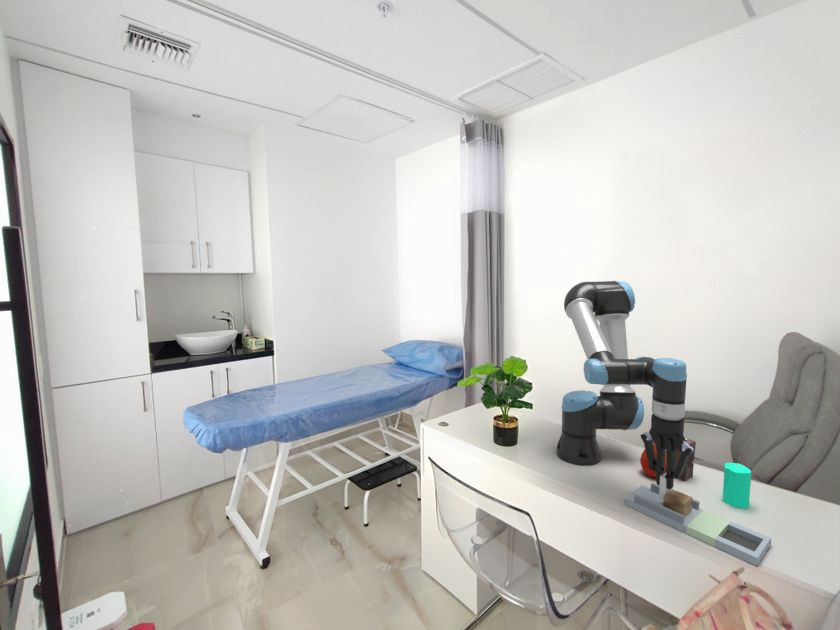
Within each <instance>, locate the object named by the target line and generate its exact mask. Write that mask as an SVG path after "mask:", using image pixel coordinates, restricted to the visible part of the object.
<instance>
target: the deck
mask: <svg viewBox="0 0 840 630" xmlns="http://www.w3.org/2000/svg"><path fill="white" fill-rule="evenodd" d="M659 489H660V485H657V483H654V482H652V483H650V487H648V486H645V485H643V484H641V485H640V486H638V487H636V488H635V489H634V490H633V491H631V492H630V493H628V494H627V495H625V496H624V497H623V503H622V504H623V505H624V506H627V507H629V508H630V509H633V510H635V511H638V512H639V513H641V514H644V515H646V516H647V517H650V518H652V519H655V520H657V521H658V522H661V523H663V524H664V525H667V526H669V527H672V528H674V529H675V530H678V531H680V532H682V533H684V534H687V535H689V536H691V537H693V538H695V539H698V540H700V541H702V542H704V543H706V544H709V545H711V546H712V547H714V548H717V549H719V550H720V551H723V552H726V553H728V554H729V555H732V556H733V557H734V556H735V557H736V558H738V559H741V560H742V561H745V562H747V563H749V564H751V565H753V566H756V567H757V566H759V563H760V562H761V561H762V559H763V558H764V556H765V554H767V552H768V551H769V549H770V548H771V545H772V537H770V536H768V535H765V534H763V533H760V532H758V531H755V530H753V529H751V528H748V527H745V526H744V525H741V524H738V523H737V522H736V523H735V522H733V521H731V520H728V519H726V518H723V517H721V516H719V515H717V514H713V513H711V512H709V511H706V510H705V509H701V508H700V503H701V502H700V501H699V500H697V499H694V498H692V511H691V512H690V513H689V514H688V515H687V516H686V517H684V515H682V514H680V513H678V512H675V511H673V510H671V509H668V508H666V507H664V506H663V500H662V499H660V498H659Z"/></svg>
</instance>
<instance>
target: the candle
mask: <svg viewBox="0 0 840 630" xmlns="http://www.w3.org/2000/svg"><path fill="white" fill-rule="evenodd" d="M751 482H752V471H751V469H749V468H748V467H747V466H745V465H743V464H741V463H738V462H737V463H735V462H726V463H725V464H724V469H723V483H722V484H723V486H722V501H723V502H724V503H726V504H727V505H729V506H730V507H734V508H737V509H743V510H744V509H745V510H746V509H749V507H750V498H751V484H752V483H751Z"/></svg>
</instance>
